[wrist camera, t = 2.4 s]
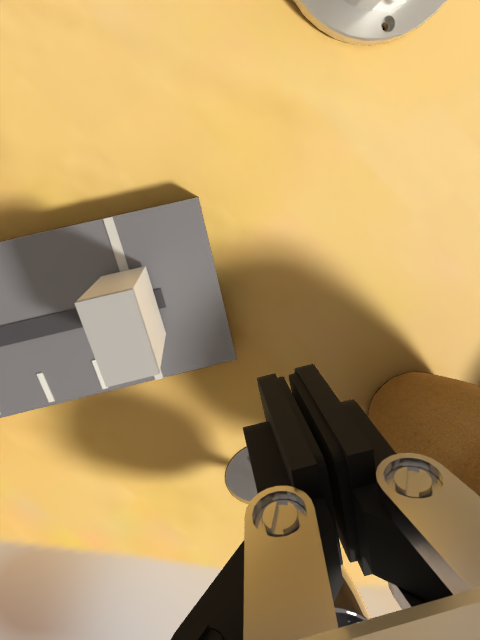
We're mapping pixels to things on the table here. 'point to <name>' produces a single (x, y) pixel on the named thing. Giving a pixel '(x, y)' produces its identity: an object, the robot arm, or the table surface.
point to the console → (79, 275)
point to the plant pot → (432, 421)
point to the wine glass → (348, 598)
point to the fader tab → (123, 326)
